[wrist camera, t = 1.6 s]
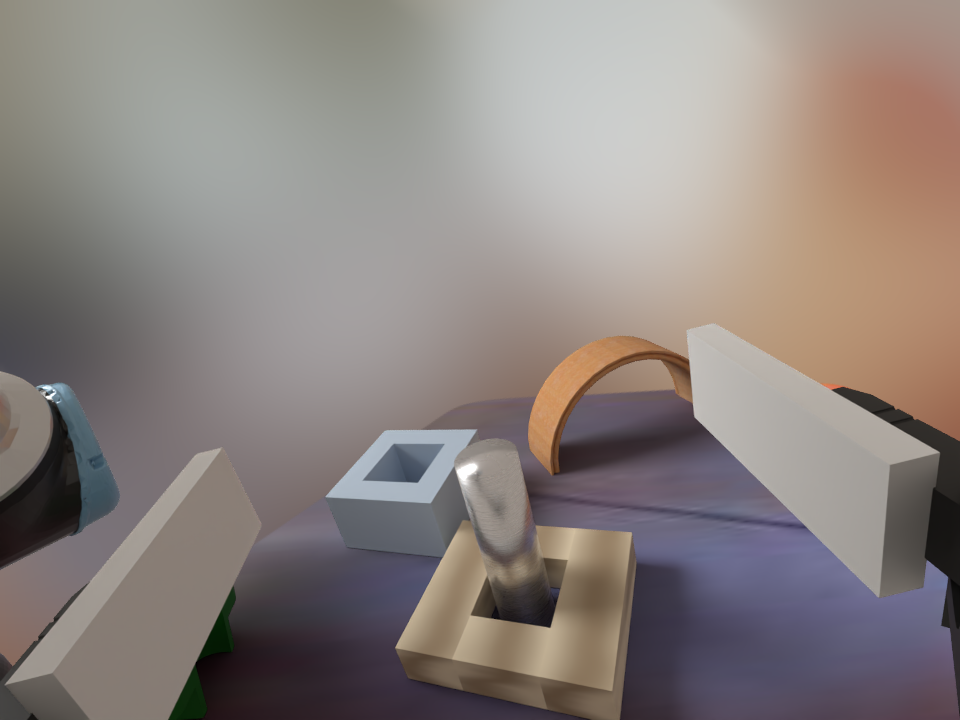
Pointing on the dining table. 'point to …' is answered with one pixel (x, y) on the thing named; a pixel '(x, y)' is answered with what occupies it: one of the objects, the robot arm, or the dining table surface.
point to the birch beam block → (530, 626)
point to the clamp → (217, 641)
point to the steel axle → (505, 531)
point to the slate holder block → (403, 493)
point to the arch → (580, 376)
